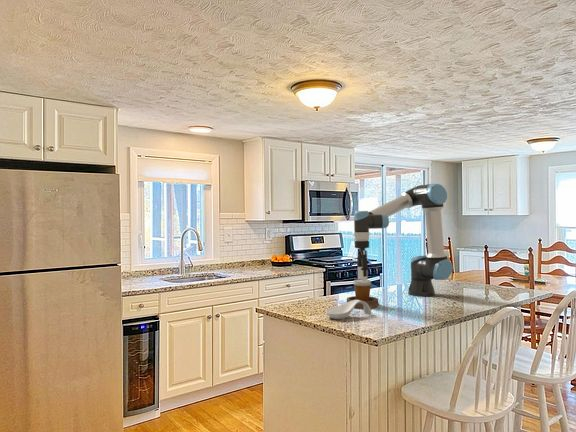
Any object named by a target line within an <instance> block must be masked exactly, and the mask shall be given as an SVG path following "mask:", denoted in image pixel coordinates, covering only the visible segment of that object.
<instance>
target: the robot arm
mask: <svg viewBox="0 0 576 432" xmlns="http://www.w3.org/2000/svg"><path fill="white" fill-rule="evenodd" d="M447 199H448V192H447V189H446V188H445V187H444V186H443V185H442V184H440V183H429V184H420V185H417V186H414V187H412V188H410V189H408V190H407V191H404V192H402V193H401V194H400V195H399V196H398V197H396V198H394V199H392V200H389V201H388V202H386V203H384V204H382V205H380V206H378V207H376V208H373V209H371V210H370V211H368V210H356V211H355V212H354V214H353V227H354V228H353V229H354V230H353V231H354V233H353V237H354V240H355V241H354V249H357V260H356V265H357V280H361V279H362V283H368V280H369V279H368V278H369V277H368V270H369V264H368V263H369V262H368V253H367V252H368V251H367V250H366V249H368V248H370V241H369V240H370V230H375V229H377V230H378V229H387V228H388V227H389V224H390V218H389V217H391V216H392V215H395V214H397V213H399V212H400V211H402V210H405V209H410V208H412V207H417V206H421V210H423V211H424V214H425V215H424V216H425V227H426V238H427V239H426V241H427V253H426V255H425V254H424V255H414V256H412V257H411V258H410V278H411V279H410V280H411V281H410V283H409V287H408V290H407V292H408V294H407V295H410V296H414V295H415V297H432V295H433V296H435V295H436V291H435V287H434V285H433V282H432V280H435V281H445V280H448V279H449V278H450V277H451V275H452V273H453V269H454V268H453V264H452V262H451V260H449V259H448V254H446V252H445V247H444V245H445V244H444V236H443V235H444V232H443V219H442V210H443V208H444V204H445V203H446V202H447Z"/></svg>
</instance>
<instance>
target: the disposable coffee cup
mask: <svg viewBox="0 0 576 432" xmlns="http://www.w3.org/2000/svg"><path fill="white" fill-rule="evenodd" d="M352 284H353V286H354V294H355V296H356V300H360V301H369V296H370V294H371V287H372V282H371V280H370V279H368V283H362V279H354V280H353V283H352ZM370 297H371V296H370Z"/></svg>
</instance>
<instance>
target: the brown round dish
mask: <svg viewBox="0 0 576 432" xmlns="http://www.w3.org/2000/svg"><path fill="white" fill-rule="evenodd" d="M352 300H356V296H349V297H347V298H346V303H347V302H350V301H352ZM364 302H366V303H367V304H368V305H369V307H370V309H376V308H379V307H380V303H379V298H378V297H376V296H375V297H374V296H369V301H364ZM353 309H360V310H364V306H363V304H361V303H358V304H356V305H355V307H354V308H353Z"/></svg>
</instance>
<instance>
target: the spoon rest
mask: <svg viewBox="0 0 576 432" xmlns="http://www.w3.org/2000/svg"><path fill="white" fill-rule="evenodd" d="M358 303H361V304H363V306H364V309H363V313H364V314H367V315H371V314H372V311H371V309H372V308H371V309H370V307H369V305H368V304H367V303H366V302H364V301H360V300H352V301H350V302H347V301H346V302H345V303H343V304H339V305H335V306H332V307H329V308H327V309H325V310H324V311H325V314H326V315H327V316H328V317H329V318H331V319H334V320H345V319H347V317H349V316H350V315H351V313H352V311H353V310H354V309H355V308H354V307H355V305H356V304H358Z"/></svg>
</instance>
